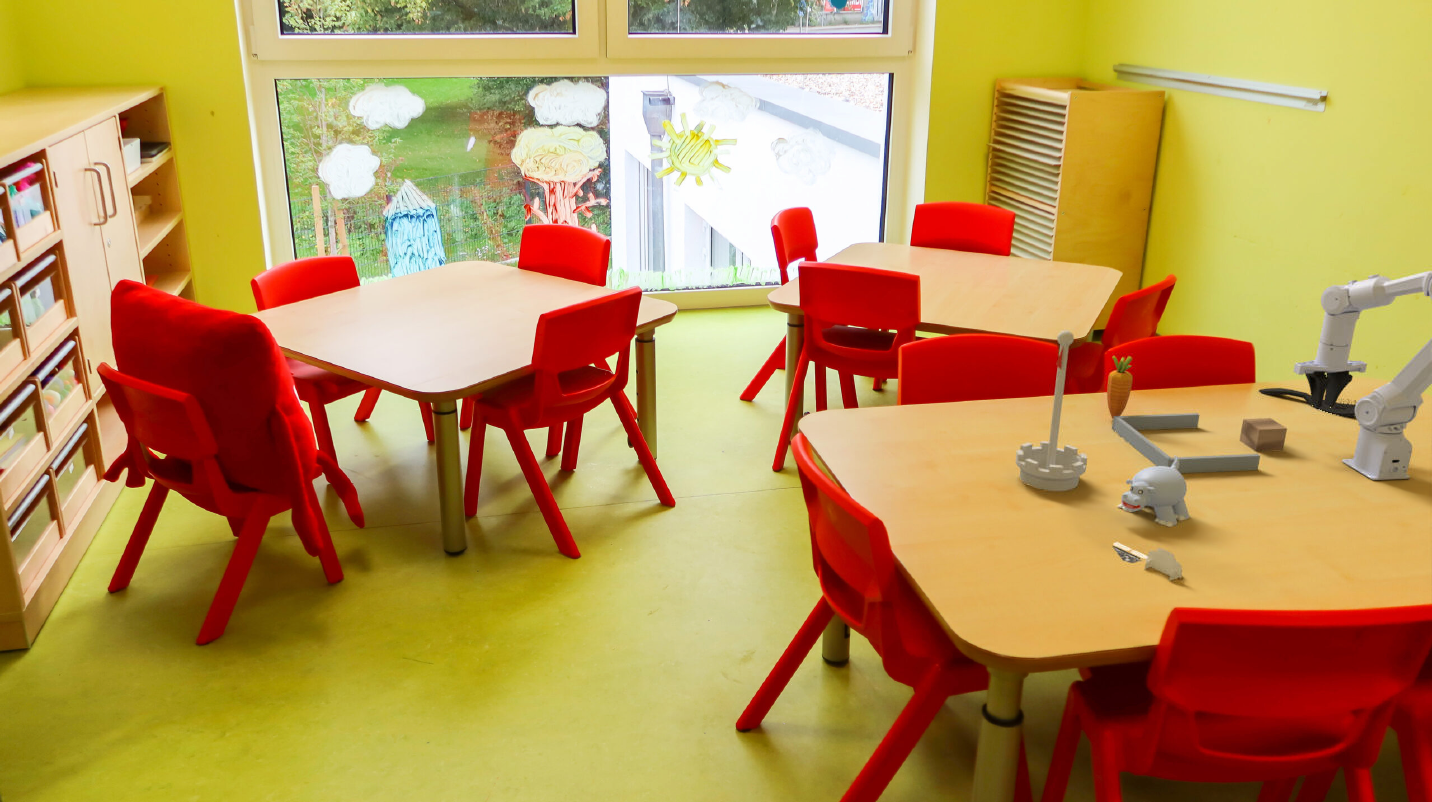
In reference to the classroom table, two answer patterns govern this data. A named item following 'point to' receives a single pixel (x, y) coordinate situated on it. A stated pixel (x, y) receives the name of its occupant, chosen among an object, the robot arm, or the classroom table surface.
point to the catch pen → (1127, 430)
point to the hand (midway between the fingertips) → (1322, 405)
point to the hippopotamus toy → (1158, 493)
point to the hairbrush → (1337, 409)
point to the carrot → (1119, 387)
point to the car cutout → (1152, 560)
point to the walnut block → (1263, 434)
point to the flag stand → (1053, 443)
